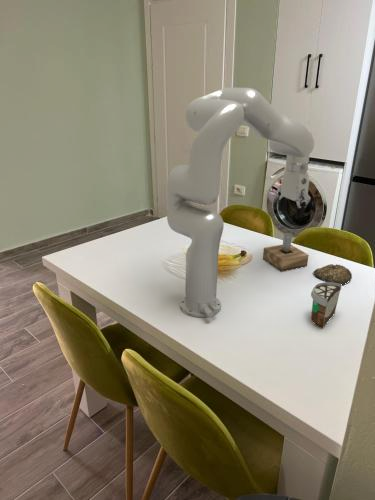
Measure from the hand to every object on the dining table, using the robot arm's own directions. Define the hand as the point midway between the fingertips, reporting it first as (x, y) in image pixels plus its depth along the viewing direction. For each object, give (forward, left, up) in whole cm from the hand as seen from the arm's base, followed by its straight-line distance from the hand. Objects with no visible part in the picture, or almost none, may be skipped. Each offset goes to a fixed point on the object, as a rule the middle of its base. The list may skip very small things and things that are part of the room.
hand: (290, 214), depth 137 cm
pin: (0, 0, -19) cm, 19 cm away
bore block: (0, 0, -20) cm, 20 cm away
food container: (-35, +14, -20) cm, 43 cm away
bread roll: (-16, -10, -21) cm, 28 cm away
